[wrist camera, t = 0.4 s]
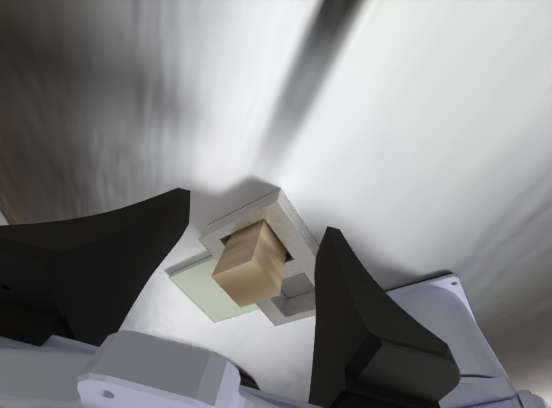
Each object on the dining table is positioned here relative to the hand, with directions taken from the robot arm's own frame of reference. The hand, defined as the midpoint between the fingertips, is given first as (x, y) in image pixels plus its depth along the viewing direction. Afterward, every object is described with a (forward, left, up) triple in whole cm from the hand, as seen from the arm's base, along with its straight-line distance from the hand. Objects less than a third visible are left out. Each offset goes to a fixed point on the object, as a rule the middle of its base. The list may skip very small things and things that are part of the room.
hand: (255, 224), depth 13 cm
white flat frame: (-9, +6, -10) cm, 15 cm away
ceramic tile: (-10, +15, -10) cm, 21 cm away
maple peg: (-6, +6, -10) cm, 13 cm away
